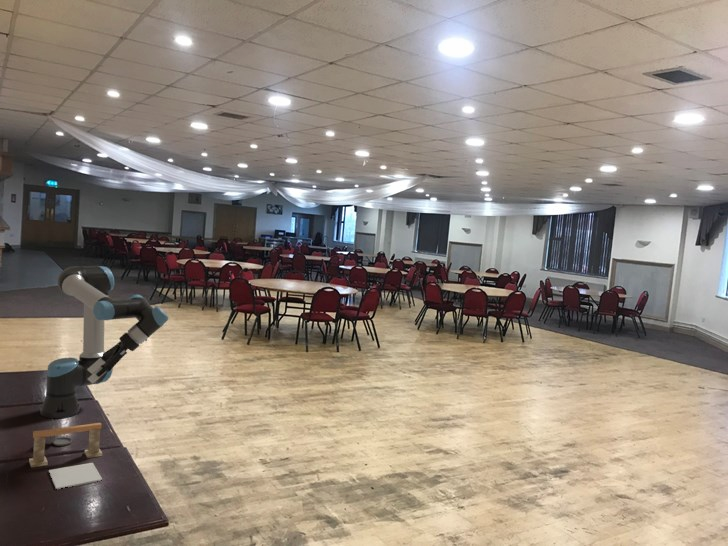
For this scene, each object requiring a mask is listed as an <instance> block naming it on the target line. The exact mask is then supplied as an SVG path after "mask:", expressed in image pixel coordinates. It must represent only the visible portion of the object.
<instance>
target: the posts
mask: <svg viewBox="0 0 728 546" xmlns="http://www.w3.org/2000/svg"><path fill="white" fill-rule="evenodd" d="M88 432H89V434H88V449H84V455H85V457H86V458H87V459H92V458H98V457H103V452H102V450H101V449H100V441H101V440H100V439H101V429H97V430H90V431H88ZM45 450H46V437H40V438H33V453H32V458H29V459H28V460H29V461H28V463H29V465H30V468H32V469H33V468H39V467H43V466H48V465H49V464H48V460H47V457H46V456H45Z"/></svg>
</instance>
